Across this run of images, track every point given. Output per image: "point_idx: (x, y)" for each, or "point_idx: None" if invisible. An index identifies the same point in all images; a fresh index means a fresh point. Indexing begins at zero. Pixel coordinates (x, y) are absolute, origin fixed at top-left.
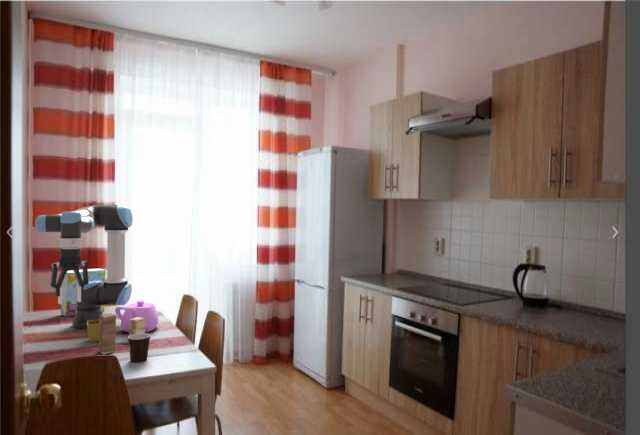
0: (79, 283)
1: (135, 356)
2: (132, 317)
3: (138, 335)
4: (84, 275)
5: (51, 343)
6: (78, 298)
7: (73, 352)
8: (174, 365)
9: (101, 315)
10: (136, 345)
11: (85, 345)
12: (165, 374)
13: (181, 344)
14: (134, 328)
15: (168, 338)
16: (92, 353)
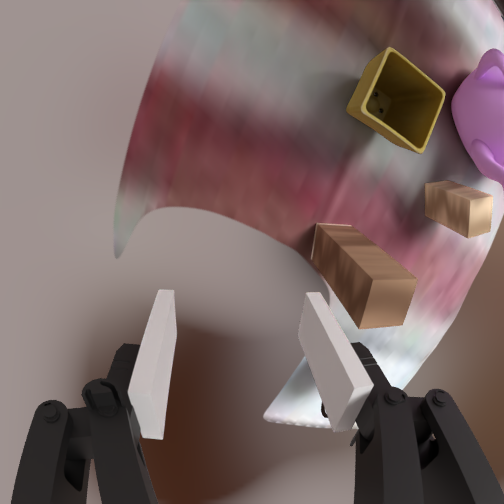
0: (380, 417)
1: None
2: (488, 168)
3: None
4: (433, 500)
5: (245, 17)
6: (306, 340)
7: (256, 172)
8: None
9: (374, 291)
10: None
11: (318, 126)
12: (310, 426)
13: (446, 313)
14: (450, 219)
15: (468, 253)
16: (293, 229)
